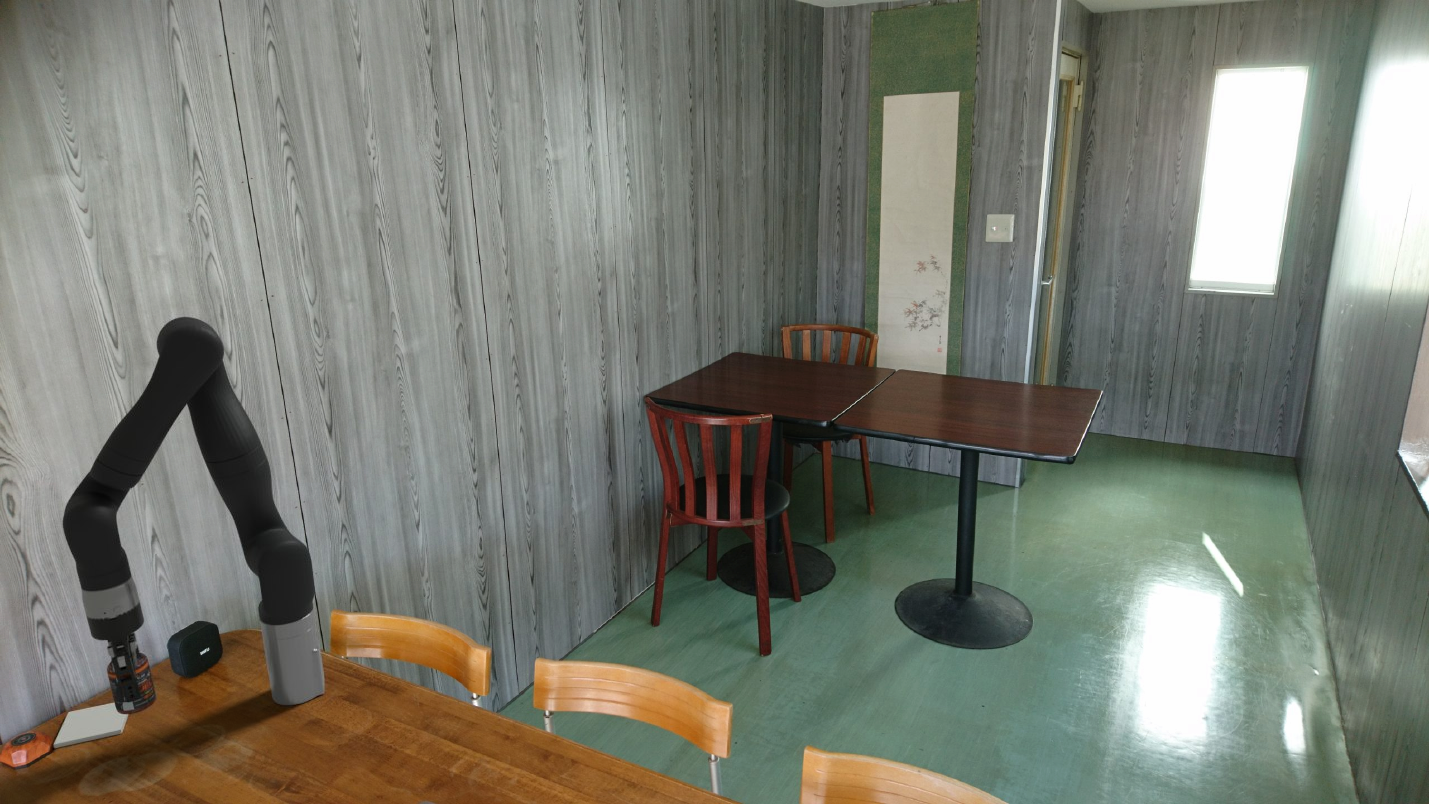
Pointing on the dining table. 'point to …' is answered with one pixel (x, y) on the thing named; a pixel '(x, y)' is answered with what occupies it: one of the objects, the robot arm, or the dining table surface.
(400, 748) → the dining table surface
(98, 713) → the coaster
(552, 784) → the dining table surface
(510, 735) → the dining table surface
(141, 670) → the supplement bottle
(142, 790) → the dining table surface
